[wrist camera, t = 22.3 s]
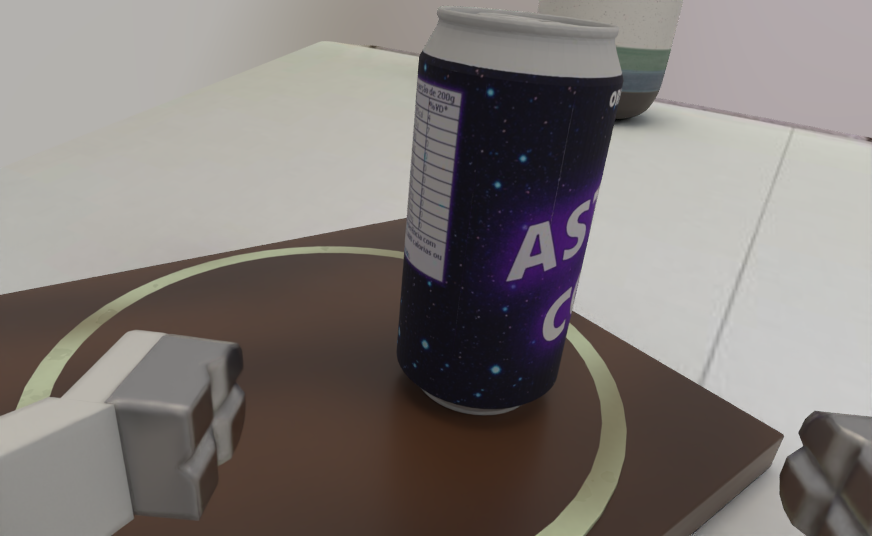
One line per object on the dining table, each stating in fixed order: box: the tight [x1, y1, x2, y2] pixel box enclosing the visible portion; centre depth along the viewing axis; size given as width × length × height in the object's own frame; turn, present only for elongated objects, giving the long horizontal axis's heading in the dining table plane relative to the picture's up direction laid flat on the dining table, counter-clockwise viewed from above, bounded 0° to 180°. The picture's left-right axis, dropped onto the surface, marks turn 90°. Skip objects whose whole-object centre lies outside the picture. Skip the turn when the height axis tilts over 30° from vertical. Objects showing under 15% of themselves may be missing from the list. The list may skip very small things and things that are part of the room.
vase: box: [537, 0, 683, 119], centre depth 74 cm, size 17×17×24 cm
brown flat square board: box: [0, 218, 784, 536], centre depth 22 cm, size 22×22×2 cm
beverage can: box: [396, 6, 624, 415], centre depth 19 cm, size 6×6×12 cm
